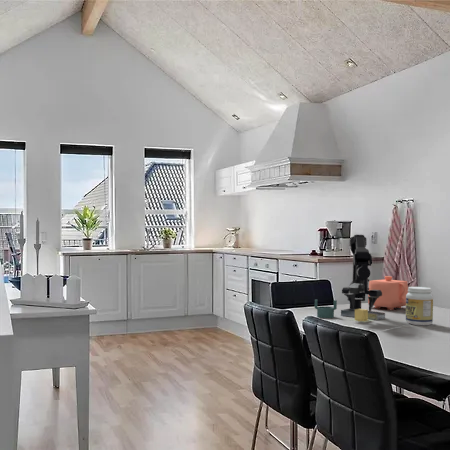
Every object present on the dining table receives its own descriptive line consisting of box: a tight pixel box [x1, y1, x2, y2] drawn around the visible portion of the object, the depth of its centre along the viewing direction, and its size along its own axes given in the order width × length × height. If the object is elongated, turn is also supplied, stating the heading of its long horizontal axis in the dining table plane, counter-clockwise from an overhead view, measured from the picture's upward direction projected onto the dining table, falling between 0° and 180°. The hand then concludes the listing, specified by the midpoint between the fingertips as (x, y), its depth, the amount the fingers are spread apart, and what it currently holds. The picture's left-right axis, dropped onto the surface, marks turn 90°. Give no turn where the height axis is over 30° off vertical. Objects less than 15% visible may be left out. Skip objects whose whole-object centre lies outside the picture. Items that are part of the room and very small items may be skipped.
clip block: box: [354, 308, 369, 322], centre depth 287 cm, size 4×4×5 cm
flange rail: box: [340, 308, 386, 321], centre depth 298 cm, size 9×20×3 cm, turn 47°
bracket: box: [314, 299, 338, 319], centre depth 297 cm, size 9×9×9 cm
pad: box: [350, 318, 375, 323], centre depth 287 cm, size 9×9×1 cm
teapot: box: [367, 275, 409, 311], centre depth 338 cm, size 25×23×18 cm
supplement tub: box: [405, 286, 434, 326], centre depth 283 cm, size 12×12×17 cm
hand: (361, 309), depth 287 cm, fingers open, 9 cm apart
